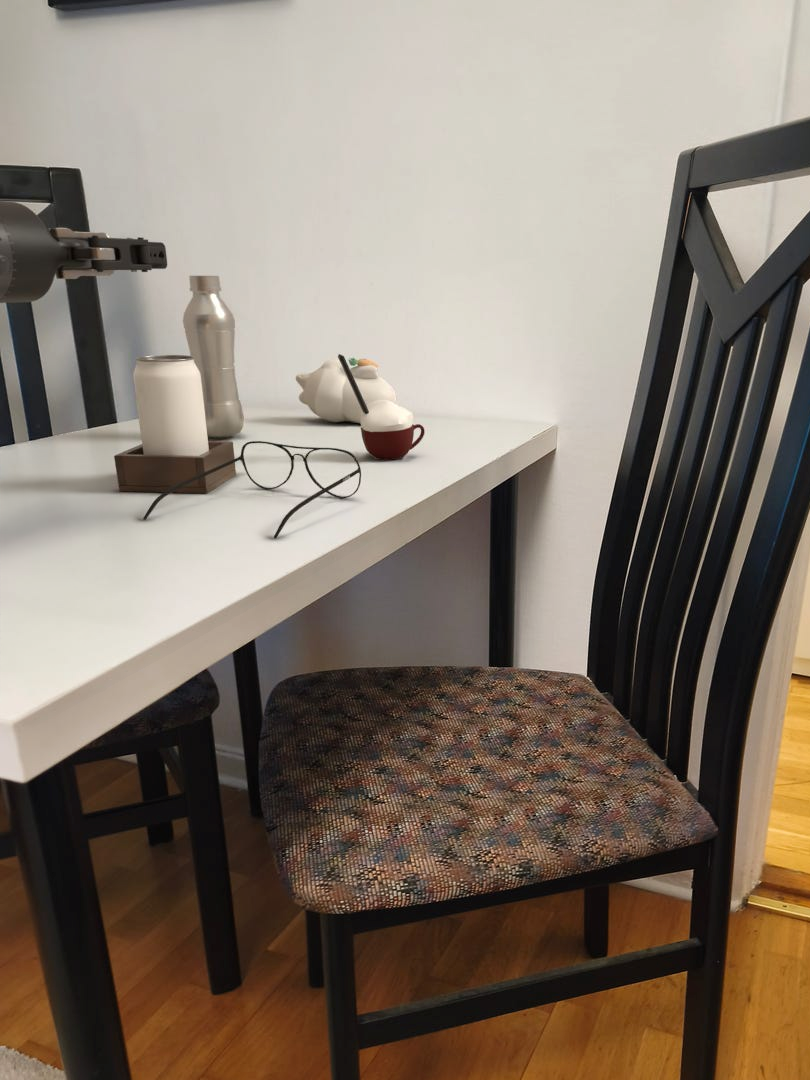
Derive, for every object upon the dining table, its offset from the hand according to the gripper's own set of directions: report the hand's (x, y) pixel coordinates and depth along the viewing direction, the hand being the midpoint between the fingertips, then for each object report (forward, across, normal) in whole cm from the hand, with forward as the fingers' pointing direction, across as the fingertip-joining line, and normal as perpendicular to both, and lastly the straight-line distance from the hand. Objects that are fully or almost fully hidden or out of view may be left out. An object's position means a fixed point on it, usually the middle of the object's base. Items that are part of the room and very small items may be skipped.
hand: (127, 255), depth 83 cm
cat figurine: (+46, +5, +22) cm, 51 cm away
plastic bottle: (+27, +14, +22) cm, 37 cm away
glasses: (-3, -15, +22) cm, 27 cm away
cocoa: (+24, -13, +22) cm, 35 cm away
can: (+3, 0, +22) cm, 22 cm away
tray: (+3, 0, +22) cm, 22 cm away
